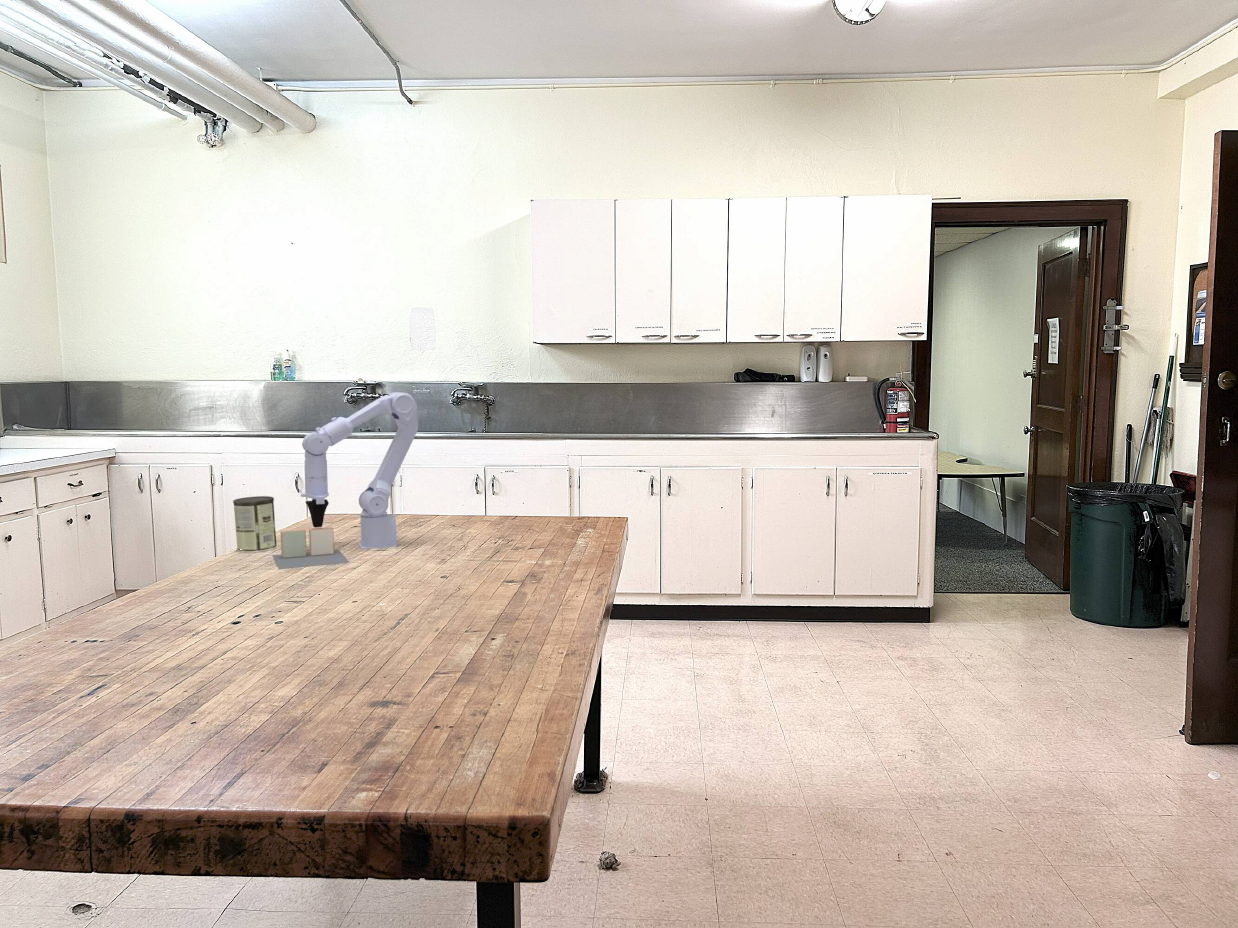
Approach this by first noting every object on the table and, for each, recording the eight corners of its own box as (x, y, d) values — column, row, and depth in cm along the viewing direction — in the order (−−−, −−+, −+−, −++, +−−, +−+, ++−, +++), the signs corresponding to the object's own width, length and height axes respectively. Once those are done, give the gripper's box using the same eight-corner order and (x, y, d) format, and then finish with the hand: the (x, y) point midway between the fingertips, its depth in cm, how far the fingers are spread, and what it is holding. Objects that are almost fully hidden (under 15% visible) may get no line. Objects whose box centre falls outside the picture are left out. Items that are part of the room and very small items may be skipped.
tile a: (309, 554, 234) (308, 528, 234) (333, 552, 237) (332, 526, 236) (310, 556, 233) (309, 530, 232) (334, 554, 235) (333, 528, 234)
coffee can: (248, 545, 248) (244, 496, 246) (283, 545, 247) (280, 495, 245) (229, 553, 237) (225, 501, 236) (266, 553, 237) (262, 501, 235)
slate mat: (338, 550, 241) (338, 549, 241) (349, 564, 225) (349, 562, 225) (272, 556, 234) (272, 555, 234) (278, 570, 218) (278, 569, 218)
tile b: (281, 556, 231) (280, 530, 231) (305, 554, 234) (304, 528, 233) (282, 558, 229) (281, 532, 229) (306, 556, 232) (305, 530, 231)
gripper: (297, 474, 243) (299, 523, 244) (303, 481, 230) (305, 532, 231) (324, 473, 246) (325, 521, 247) (332, 479, 233) (333, 530, 234)
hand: (317, 526), depth 240 cm, fingers closed
